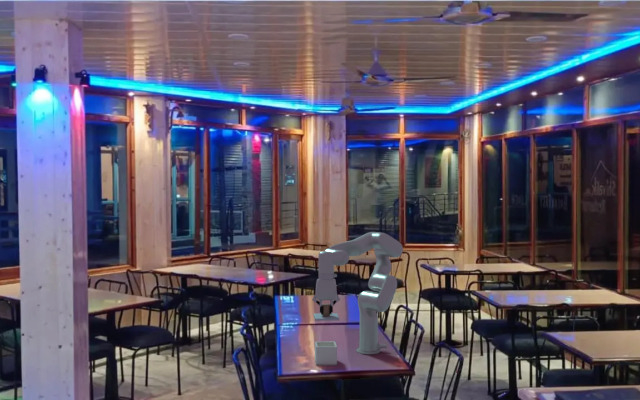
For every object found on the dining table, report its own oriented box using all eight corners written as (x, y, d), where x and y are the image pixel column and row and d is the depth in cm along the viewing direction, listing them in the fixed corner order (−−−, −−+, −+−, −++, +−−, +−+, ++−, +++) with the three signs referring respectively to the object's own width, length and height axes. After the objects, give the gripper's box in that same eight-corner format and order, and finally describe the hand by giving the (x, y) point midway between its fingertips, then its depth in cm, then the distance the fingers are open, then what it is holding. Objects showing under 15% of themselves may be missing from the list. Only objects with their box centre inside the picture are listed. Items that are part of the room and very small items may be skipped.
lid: (336, 315, 304) (336, 302, 304) (339, 320, 292) (339, 306, 292) (313, 315, 303) (313, 302, 303) (315, 320, 291) (315, 307, 291)
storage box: (334, 359, 303) (335, 341, 303) (336, 365, 293) (337, 346, 293) (314, 359, 303) (314, 341, 302) (316, 365, 293) (316, 346, 292)
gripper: (342, 275, 301) (342, 312, 302) (308, 275, 300) (308, 312, 301) (343, 277, 294) (343, 315, 294) (309, 278, 293) (309, 316, 293)
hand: (326, 313), depth 298 cm, fingers closed on lid, 3 cm apart
